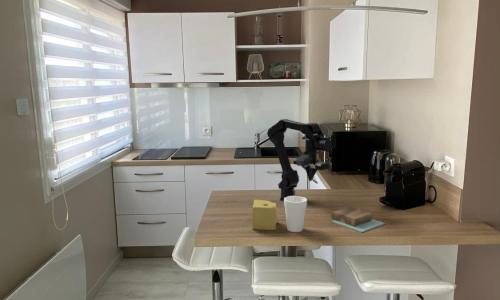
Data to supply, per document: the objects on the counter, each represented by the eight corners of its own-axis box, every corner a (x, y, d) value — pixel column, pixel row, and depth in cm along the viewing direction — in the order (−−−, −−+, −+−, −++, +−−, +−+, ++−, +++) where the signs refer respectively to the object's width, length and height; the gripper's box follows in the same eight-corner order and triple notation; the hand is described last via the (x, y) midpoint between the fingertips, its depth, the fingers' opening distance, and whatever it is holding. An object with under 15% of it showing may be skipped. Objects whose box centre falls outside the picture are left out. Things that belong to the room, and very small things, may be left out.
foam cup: (292, 235, 159) (293, 204, 156) (279, 227, 166) (279, 198, 164) (310, 230, 164) (311, 200, 161) (296, 223, 171) (297, 194, 169)
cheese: (277, 222, 174) (277, 200, 172) (276, 231, 163) (276, 207, 162) (253, 221, 175) (253, 199, 173) (251, 230, 164) (251, 207, 163)
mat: (331, 221, 174) (331, 220, 174) (354, 214, 184) (354, 213, 183) (362, 232, 161) (362, 231, 161) (384, 223, 171) (384, 223, 171)
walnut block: (332, 211, 175) (354, 218, 166) (349, 206, 183) (371, 213, 173) (332, 219, 176) (354, 226, 167) (349, 213, 183) (371, 220, 174)
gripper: (285, 148, 192) (285, 179, 195) (314, 154, 178) (313, 187, 181) (301, 146, 199) (301, 176, 202) (330, 151, 185) (329, 183, 187)
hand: (310, 180), depth 193 cm, fingers closed
